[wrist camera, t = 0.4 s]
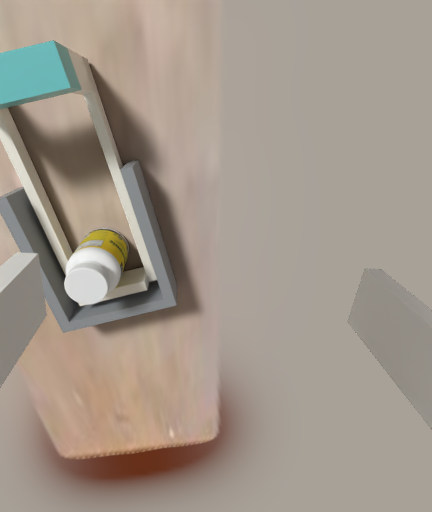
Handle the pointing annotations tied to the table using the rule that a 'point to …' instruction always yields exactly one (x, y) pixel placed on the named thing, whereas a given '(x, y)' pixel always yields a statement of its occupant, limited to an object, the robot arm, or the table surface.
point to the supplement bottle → (96, 266)
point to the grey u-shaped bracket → (63, 307)
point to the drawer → (82, 82)
